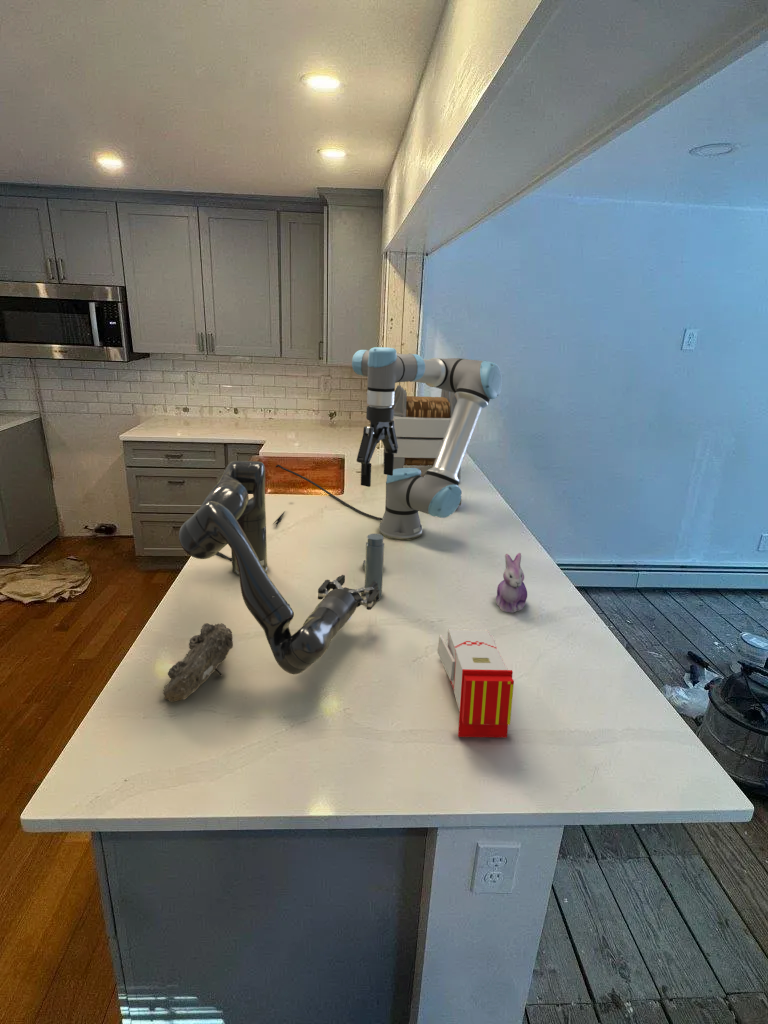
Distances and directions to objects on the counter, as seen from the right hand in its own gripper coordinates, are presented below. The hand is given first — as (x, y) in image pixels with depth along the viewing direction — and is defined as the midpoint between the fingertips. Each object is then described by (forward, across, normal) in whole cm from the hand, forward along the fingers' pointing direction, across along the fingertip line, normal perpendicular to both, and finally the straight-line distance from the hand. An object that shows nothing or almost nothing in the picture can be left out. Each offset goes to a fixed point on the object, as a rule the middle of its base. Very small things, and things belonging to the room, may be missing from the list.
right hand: (377, 480), depth 163 cm
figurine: (+28, 0, +43) cm, 51 cm away
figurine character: (+28, -69, -2) cm, 75 cm away
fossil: (+28, +65, -5) cm, 71 cm away
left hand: (+19, +26, +10) cm, 33 cm away
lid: (+26, 0, 0) cm, 26 cm away
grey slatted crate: (+28, -106, -33) cm, 114 cm away
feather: (+28, -22, -51) cm, 62 cm away
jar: (+28, +15, +8) cm, 33 cm away
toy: (+28, +41, +46) cm, 68 cm away
